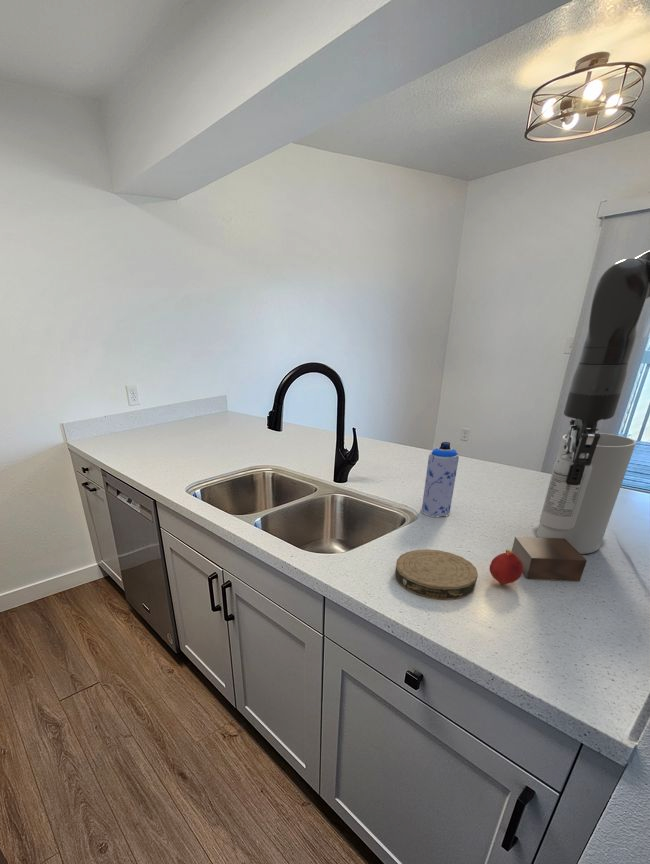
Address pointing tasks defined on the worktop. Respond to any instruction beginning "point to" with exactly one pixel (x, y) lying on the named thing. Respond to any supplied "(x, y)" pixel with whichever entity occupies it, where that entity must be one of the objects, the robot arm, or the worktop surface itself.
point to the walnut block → (549, 558)
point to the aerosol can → (440, 481)
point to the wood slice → (436, 574)
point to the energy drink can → (563, 497)
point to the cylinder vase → (597, 493)
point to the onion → (506, 568)
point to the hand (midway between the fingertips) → (569, 478)
